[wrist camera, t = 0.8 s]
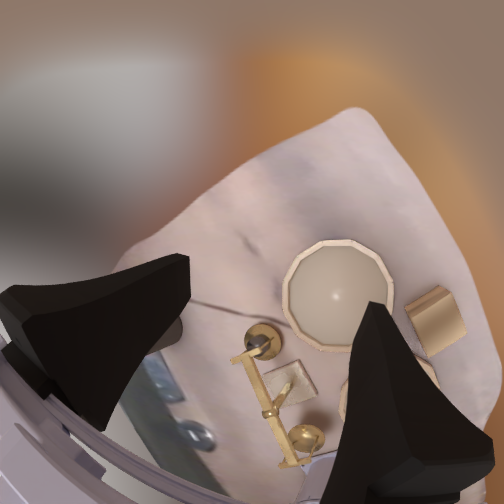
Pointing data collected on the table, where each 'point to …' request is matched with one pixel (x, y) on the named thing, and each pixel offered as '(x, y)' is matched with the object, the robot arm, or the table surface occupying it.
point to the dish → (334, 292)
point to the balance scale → (280, 393)
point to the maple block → (436, 320)
